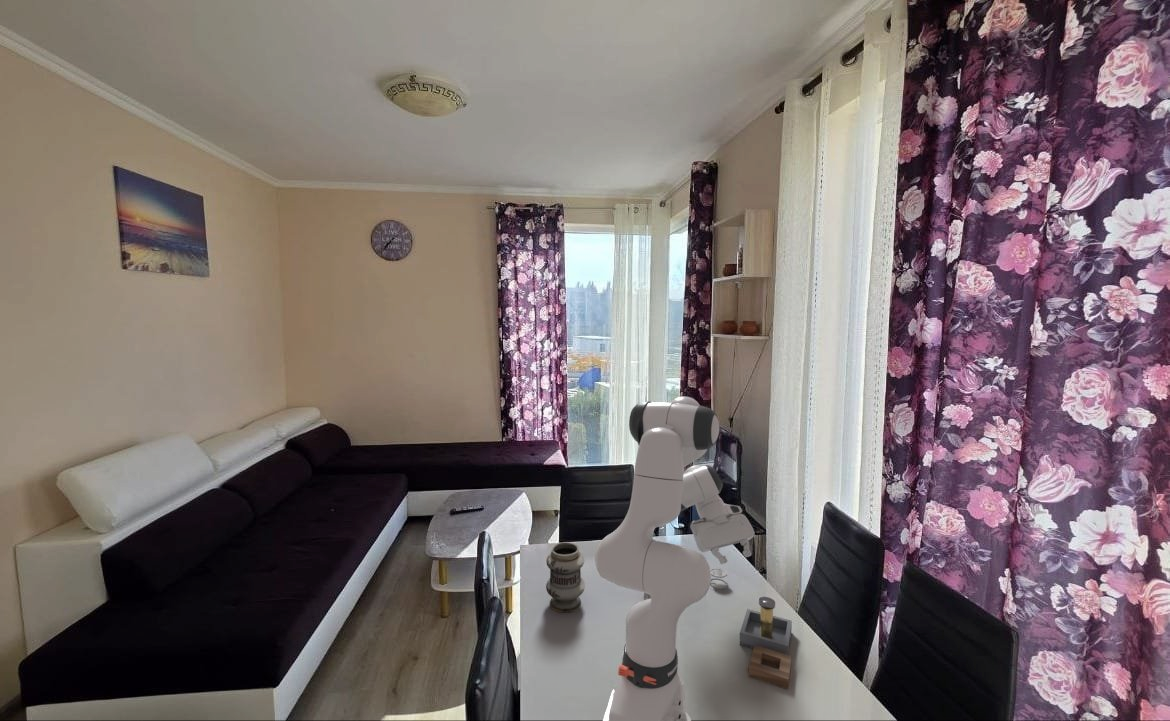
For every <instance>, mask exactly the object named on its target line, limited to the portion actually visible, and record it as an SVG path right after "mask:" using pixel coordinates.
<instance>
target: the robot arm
mask: <svg viewBox="0 0 1170 721" xmlns="http://www.w3.org/2000/svg"><path fill="white" fill-rule="evenodd" d="M629 414H630V415H629V420H628V422H629V423H628V428H629V431H630V435H631V437H632V438H633V440H634V441H636V442H637V445H638V448H637V453H636V459H635V463H634V464H635V465H634V472H633V482H632V491H631V498H630V504H629V508H628V509H627V513H626V515H625V517H624V519H623V521H622V522H621V523H620V525H619V526H618V527H617V528H616V529H615V530H613V532H611V533H609V534H607V535H606V536H605V537H604V538H602V539H601V541H600V543H599V544H598V546H597V549H596V551H595V558H594V559H595V561H594V562H595V566H596V570H597V572H598V575H599V576H600V577H601V578H603V579H605V580H606V581H608V582H610V583H612V584H614V585H616V586H618V587H622V588H626V589H629V590H634V591H637V592H641V593H643V594H644V593H646V594H649V595H650V596H651V598H650V599H646V600H644V599H643V600H641V601H638V602H636V603H635V604H634V605H632V606H631V607H630V609H629V610H628V612H627V614H626V618H625V644H624V647H623V651H622V652H623V653H622V657H621V658H622V661H621V662H620V665H619V667H618V670H617V673H618V674H617V675H618V677H617V681H616V684H615V686H614V688H613V689H612V690H611V693H610V697H609V699H608V703H607V705H606V709H605V713H604V715H603V718H602V721H692V718H691V717H690V715H689V714H688V713H687V712H686V705H685V704H686V703H685V685H684V683H683V680H682V679H681V677H680V675H679V673H678V667H679V666H678V664H679V656H678V650H677V648H676V647H677V645H676V644H677V640H676V639H677V628H678V623H679V619H680V618H681V616H682V614H683V613H684V611H685V610H686V609H687V608H689V607H690V606H691V605H693V604H697V603H698V602H700V601H702V599H703V598H705V597H706V595H707V593H708V591H709V590H710V587H711V585H710V584H711V581H712V580H711V579H712V575H711V571H710V569H711V567H710V565H709V562H708V560H707V559H706V557H705V556H704V555H703V554H702V553H706V552H710V551H711V552H710V553H712V555H713V556H714V557H715V558H716V559H718V561H719V564H720V565H724V564H726V563H728V559H727V557H726V555H722V553H721V552H720V548H725V547H728V546H732V545H735V544H739V543H740V545H741V547H742V546H743V551H742V555H743V556H744V558H748V557H751V556H752V551H751V550H750V542H749V541H750V540H752V539H753V538H754V537H755V530H754V528H753V526H752V524H751V522H750V521H749V519H748V518H747V517H746V515H745V514H743V513H742V512H743V509H742V508H741V506H740V505H734V504H730V503H729V504H727V503H725V502H724V500H723V499H722V498H721V497H720V495H719V494H720V493H721V491H722V488H723V486H724V482H722V479H721V478H720V476H719V474H718V472H717V470H716V468H714V467H712V466H710V465H706V464H705V465H698V464H697V465H692V466H690V467H687V466H689V465H690V464H692V463H693V462H695V461H697V460H699V459H700V458H702V457H703V456H704V455H705V454H706V453H707V451H708V450H710V449H711V448H713V447H714V446H715V445H716V443H717V440H718V437H719V434H720V422H719V420H718V415H717V413H716V412H715V411H714V410H713V409H712V408H709V407H707V406H703V405H700V404H699V402H698V401H697V400H696V399H694V398H693V397H690V396H678V397H676V398H674V399H672V400H670V401H656V402H655V401H654V402H651V401H642V402H637V403H636V404H635V405H634V407H633V408H632V409H631V411H630V413H629ZM685 467H687V469H686V470H684V469H685ZM692 506H695V509H696V511H697V514H698V517H699V519H697V520H696V519H694V520H692V521H691V523H690V526H689V527H690V528H689V529H690V530H691V532H692V535H693V537H694V541H695V544H696V546H697V548H698V551H700V552H698V551H696V550H693V549H691V548H690V547H689V548H688V547H687V546H686V547H685V546H683V545H679V544H674V543H669V542H664V541H660V540H656V539H654V538H653V536H654V531H655V529H656V528H658V527H662V526H665V525H668V524H670V523H672V522H674V521H676V519H678V517H679V515H680V514H681V512H683V511H685V510H686V509H688V508H689V507H692Z"/></svg>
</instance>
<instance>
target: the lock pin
mask: <svg viewBox="0 0 1170 721" xmlns="http://www.w3.org/2000/svg"><path fill="white" fill-rule="evenodd" d="M758 605H759V606H760V612H761V613H760V636H762V637H766V638H769V639H772V631H773V616H774V609H775V608H776V601H775V599H773V598H771V597H769V596H768V597H767V596H761V597H759V598H758Z"/></svg>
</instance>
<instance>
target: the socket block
mask: <svg viewBox="0 0 1170 721" xmlns="http://www.w3.org/2000/svg"><path fill="white" fill-rule="evenodd" d="M792 657H793V656H792V655H789V654H788V655H786V654H783V653H780V652H776V651H773V650H770V649H766V648H763V647H760V646H756V645H754V648H753V649H752V652H751V656H750V661H749V665H748V677H750V678H752V679H756V680H758V681H761V682H765V683H767V684H770V685H774V686H777V687H780V688H783V689H785V690H789V686H790V677H791V669H792ZM768 665H770V666H768ZM771 666H773V667H775V668H773V667H771ZM776 667H777V668H776Z"/></svg>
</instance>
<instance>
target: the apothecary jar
mask: <svg viewBox="0 0 1170 721" xmlns="http://www.w3.org/2000/svg"><path fill="white" fill-rule="evenodd" d="M545 561H546V566H547V567H548V569H549V573H550V574H549V576H550V577H549V578H548V580H547V582H546V584H545V585H546V586H545V588H546V592H547V594H548V595H549V597H551V599H550V601H549V606H550V608H551V609H552V610H553V611H555V612H558V613H566V612H568V613H572V612H575V611H577V610H578V609H580V608H581V606H582V600H581V598H580V596H581V595H582V594H583V593H584V591H585V589H586V584H585V581H584V578H582V576H581V575H582V573H581V568H582V567H583V566H584V565H585V564H584V563H585V556H584V555H583V553H582V552H581V551H580V548H579V546H578V544H576V543H573V542H571V541H570V542H568V541H566V542H565V541H564V542H559V543H557V544H554V545H553V546H552V548H551V550H550V553H548V555H547V557H546V560H545Z"/></svg>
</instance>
